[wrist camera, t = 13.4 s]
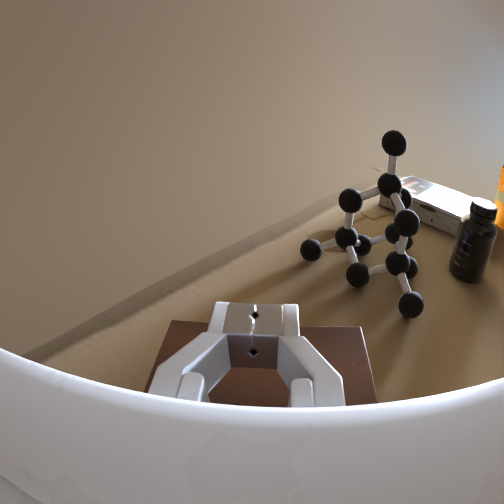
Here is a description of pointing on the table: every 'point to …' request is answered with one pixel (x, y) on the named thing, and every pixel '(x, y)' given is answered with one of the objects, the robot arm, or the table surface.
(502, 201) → the orange juice
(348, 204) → the molecular model
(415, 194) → the hard drive
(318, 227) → the table surface
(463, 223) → the supplement bottle
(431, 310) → the table surface
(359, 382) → the lid
